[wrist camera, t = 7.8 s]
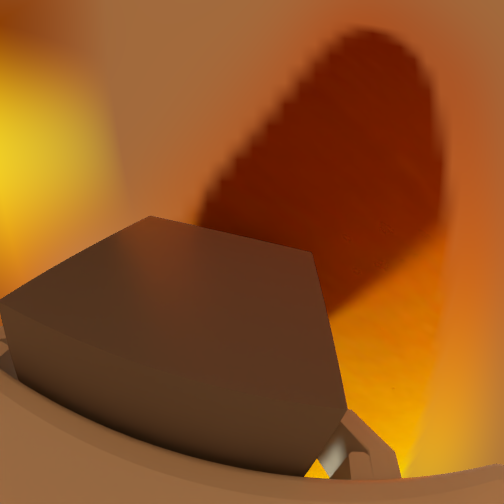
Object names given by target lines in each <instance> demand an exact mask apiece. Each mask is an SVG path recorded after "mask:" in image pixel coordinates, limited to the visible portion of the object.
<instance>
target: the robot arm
mask: <svg viewBox="0 0 504 504" xmlns="http://www.w3.org/2000/svg"><path fill="white" fill-rule="evenodd" d="M342 384H343V383H342ZM343 389H344V388H343ZM344 394H345V393H344ZM345 399H346V398H345ZM346 404H347V403H346ZM317 459H318V460H319V462H320V463H321V465H322V466H323V468H324V469H325V471H326V472H327V474H328V475H329V477H330V478H329V479H322V478H309V477H298V476H289V475H281V474H273V473H267V472H260V471H254V470H249V469H243V468H238V467H233V466H228V465H224V464H219V463H215V462H211V461H206V460H203V459H199V458H195V457H191V456H188V455H184V454H181V453H177V452H174V451H171V450H167V449H164V448H161V447H158V446H155V445H152V444H149V443H146V442H144V441H141V440H138V439H135V438H133V437H130V436H127V435H125V434H122V433H120V432H117V431H115V430H112V429H110V428H108V427H105V426H103V425H101V424H98V423H96V422H94V421H92V420H90V419H87V418H85V417H83V416H81V415H79V414H77V413H75V412H73V411H71V410H69V409H67V408H65V407H63V406H61V405H59V404H57V403H56V402H54V401H52V400H50V399H48V398H46V397H45V396H43V395H41V394H39V393H38V392H36V391H34V390H33V389H31V388H29V387H28V386H26V385H24V384H23V383H21V382H20V381H19V380H18V377H17V374H16V371H15V368H14V365H13V362H12V358H11V355H10V351H9V347H8V344H7V340H6V336H5V332H4V328H3V326H1V327H0V504H504V465H502V464H493V465H488V466H484V467H479V468H474V469H470V470H464V471H459V472H453V473H447V474H441V475H432V476H424V477H414V478H401V474H400V470H399V466H398V462H397V458H396V455H395V452H394V451H393V450H392V449H391V448H390V447H389V446H388V445H387V444H386V443H385V442H384V441H383V440H382V439H381V438H380V437H379V436H378V435H377V434H376V433H375V432H374V431H373V430H372V429H371V428H370V427H368V426H367V425H366V424H365V423H364V422H363V421H362V420H361V419H360V418H359V417H358V416H357V415H356V414H355V413H354V412H353V411H352V410H348V408H347V411H346V413H345V414H344V416H343V418H342V419H341V421H340V423H339V424H338V426H337V428H336V429H335V431H334V433H333V434H332V436H331V437H330V439H329V440H328V442H327V444H326V445H325V447H324V448H323V450H322V451H321V453H320V454H319V456H318V457H317Z"/></svg>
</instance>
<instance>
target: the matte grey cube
mask: <svg viewBox="0 0 504 504" xmlns="http://www.w3.org/2000/svg"><path fill="white" fill-rule="evenodd" d="M0 314H1V319H2V323H3V328H4V332H5V336H6V340H7V344H8V347H9V351H10V355H11V358H12V362H13V365H14V368H15V371H16V374H17V377H18V380H19V381H20V382H21V383H23V384H24V385H26V386H28V387H29V388H31V389H33V390H34V391H36V392H38V393H39V394H41V395H43V396H45V397H46V398H48V399H50V400H52V401H54V402H56V403H57V404H59V405H61V406H63V407H65V408H67V409H69V410H71V411H73V412H75V413H77V414H79V415H81V416H83V417H85V418H87V419H90V420H92V421H94V422H96V423H98V424H101V425H103V426H105V427H108V428H110V429H112V430H115V431H117V432H120V433H122V434H125V435H127V436H130V437H133V438H135V439H138V440H141V441H144V442H146V443H149V444H152V445H155V446H158V447H161V448H164V449H167V450H171V451H174V452H177V453H181V454H184V455H188V456H191V457H195V458H199V459H203V460H206V461H211V462H215V463H219V464H224V465H228V466H233V467H238V468H243V469H249V470H254V471H260V472H267V473H273V474H281V475H289V476H298V477H304V476H305V474H306V473H307V472H308V470H309V469H310V467H311V466H312V464H313V463H314V462H315V460H316V459H317V457H318V456H319V454H320V453H321V451H322V450H323V448H324V447H325V445H326V444H327V442H328V440H329V439H330V437H331V436H332V434H333V433H334V431H335V429H336V428H337V426H338V424H339V423H340V421H341V419H342V418H343V416H344V414H345V413H346V411H347V404H346V399H345V394H344V389H343V384H342V379H341V374H340V369H339V364H338V360H337V355H336V350H335V346H334V341H333V337H332V332H331V328H330V324H329V319H328V315H327V311H326V307H325V302H324V298H323V294H322V290H321V286H320V282H319V278H318V274H317V270H316V266H315V263H314V259H313V255H312V252H309V251H304V250H300V249H296V248H292V247H287V246H283V245H279V244H274V243H270V242H266V241H261V240H257V239H253V238H248V237H244V236H239V235H235V234H231V233H226V232H222V231H217V230H213V229H208V228H204V227H199V226H195V225H190V224H186V223H181V222H177V221H172V220H168V219H163V218H159V217H154V216H148V217H146V218H145V219H142V220H140V221H138V222H136V223H134V224H132V225H130V226H129V227H126V228H124V229H123V230H121V231H118V232H117V233H115V234H113V235H111V236H109V237H107V238H105V239H103V240H101V241H99V242H98V243H96V244H94V245H92V246H90V247H88V248H86V249H85V250H83V251H81V252H79V253H77V254H75V255H74V256H72V257H70V258H69V259H67V260H65V261H63V262H61V263H60V264H58V265H56V266H54V267H53V268H51V269H49V270H47V271H46V272H44V273H42V274H41V275H39V276H37V277H36V278H34V279H32V280H31V281H29V282H27V283H26V284H24V285H22V286H21V287H19V288H18V289H16V290H14V291H13V292H11V293H10V294H8V295H6V296H5V297H3V298H2V299H0Z"/></svg>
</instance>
